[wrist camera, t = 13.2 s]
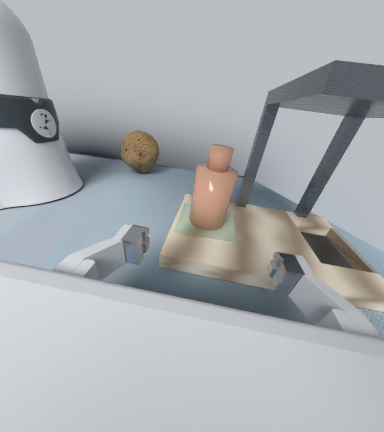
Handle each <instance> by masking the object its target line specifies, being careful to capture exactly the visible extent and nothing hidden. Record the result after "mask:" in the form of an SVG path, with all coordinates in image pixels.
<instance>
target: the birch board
mask: <svg viewBox="0 0 384 432" xmlns="http://www.w3.org/2000/svg"><path fill="white" fill-rule="evenodd" d="M192 196H193V195H190V194H186V195H185V197H184V199H183V201H182V204H181V206H180V208H179V211H178V213H177V215H176V217H175V220H174V222H173V224H172V227H171V229H170V231H169V233H168V236H167V238H166V240H165V243H164V245H163V247H162V250H161V252H160V254H159V267H160V268H165V269H170V270H175V271H180V272H185V273H190V274H195V275H200V276H205V277H210V278H215V279H220V280H225V281H230V282H235V283H240V284H245V285H250V286H255V287H260V288H265V289H270V290H273V287H272V284H271V281H272V278H271V277H270V276H269V274H268V264H269V262H270V261H271V260H273V259H274V258H273V255H274V253H275V252H276V251H277V252H282V253H288V254H295V255H301V256H303V257H304V258H305V260H306V262H307V264H308V265H309V267H310V269H311V270H312V272H313V274H314V275H315V277H317V278H319V279H320V280H322V281H323V282H324V283H326V284H327V285H328V286H329V287H331V288H332V289H333V290H335V291H336V292H337V293H338V294H340V295H341V296H342V297H344V298H345V299H346V300H347V301H349V302H350V303H351V304H352V305H354V306H355V307H360V308H365V309H370V310H375V311H380V312H384V278H383V277H382V276H381V275H380V274H379V273H378V272H377V271H376V270H375V269H374V268H373V267H372V266H371V265H370V264H369V263H368V262H367V261H366V260H365V259H364V258H363V257H362V256H361V255H360V254H359V253H358V252H357V251H356V250H355V249H354V248H353V247H352V246H351V245H350V244H349V243H348V242H347V241H346V240H345V239H344V238H343V237H342V236H341V235H340V234H339V233H338V232H337V231H336V230H335V229H334V228H333V227H332V226H331V225H330V224H329V223H328V222H327V221H326V220H325V219H324V218H323V217H320V216H314V215H308V216H307V218H303V217H297V215H296V214H295V213H294V212H290V211H284V210H278V209H272V208H267V207H261V206H255V205H249V204H246V207H239V206H237V204H236V202H231V201H230V203H229V207H228V210H227V214H226V217H225V221H224V224H223V226H222V227H221V228H220V229H218V230H214V231H208V230H202V229H200V228H197V227H196V226H194V225H193V224H192V223H191V222H190V219H189V216H190V210H191V203H192Z"/></svg>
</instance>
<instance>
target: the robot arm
mask: <svg viewBox="0 0 384 432" xmlns="http://www.w3.org/2000/svg"><path fill="white" fill-rule="evenodd" d="M47 98H48V95H47V92H46V88H45V85H44V81H43V78H42V74H41V71H40V67H39V64H38V60H37V57H36V53H35V50H34V47H33V43H32V40H31V37H30V35H29V33H28V32H27V30H26V28H25V27H24V25H23V24H22V22H21V21H20V20H19V18H18V17H17V16H16V15H15V14H14V13H13V12H12V11H11V10H10V9H9V8H8V7H7V6H6V5H5V4H4V3H3V2H2V1H1V0H0V209H3V208H8V207H16V206H26V205H34V204H40V203H45V202H49V201H53V200H57V199H60V198H63V197H66V196H68V195H70V194H72V193H74V192H76V191H78V190H79V189H80V188H81V187H82V185H83V182H82V180H81V178H80V177H79V175H78V172H77V170H76V169H75V167H74V165H73V163H72V161H71V158H70V156H69V153H68V151H67V148H66V146H65V144H64V141H63V139H62V137H61V135H60V133H59V121H58V118H57V113H56V109H55V108H54V105H53V101H52V100H50V99H47ZM148 234H149V228H146V227H142V226H137V225H131V224H124V225H123V227H122V228H121V229H120V230H119V231H118V232H117V233H116V235H115V236H114V237H113V238H109V239H106V240H104V241H101V242H99V243H96V244H94V245H92V246H89V247H87V248H84V249H82V250H79V251H77V252H74V253H72V254H69V255H68V256H67V257H66V258H65V259H64V260H63V261H62V262H61V263H59V264H58V265H57V266H56V267H55V268H54V269H53V270H47V269H42V268H37V267H33V266H28V265H23V264H18V263H13V262H8V261H4V260H0V432H384V340H383V339H382V337H381V336H380V335H379V333H378V332H377V330H376V329H375V328H374V326H373V325H372V323H371V322H370V321H369V319H368V318H367V317H366V315H365V314H364V313H363V312H361V311H360V310H359V309H358V308H356V307H355V306H354V305H352V304H351V303H350V302H349V301H347V300H346V299H345V298H344V297H342V296H341V295H340V294H338V293H337V292H336V291H335V290H333V289H332V288H331V287H329V286H328V285H327V284H326V283H324V282H323V281H322V280H320V279H319V278H317V277H315V275H314V274H313V272H312V270H311V269H310V267H309V265H308V264H307V262H306V260H305V258H304V257H303V256H301V255H295V254H288V253H282V252H277V251H276V252H275V253H274V255H273V258H274V259H273V260H271V261H270V262H269V264H268V274H269V276H270V277H271V278H272V281H271V284H272V287H273V291H274V292H278V293H282V294H287V295H288V296H289V297H290V298H291V299H292V301H293V302H294V303H295V304H296V306H297V307H298V308H299V309H300V310H301V312H302V313H303V314H304V315H305V316H306V318H307V319H308V320H309V321H310V322H311V324H312V325H311V324H306V323H301V322H297V321H292V320H287V319H282V318H277V317H273V316H268V315H263V314H258V313H253V312H249V311H244V310H239V309H234V308H229V307H225V306H220V305H215V304H210V303H205V302H201V301H196V300H191V299H186V298H181V297H177V296H172V295H167V294H162V293H157V292H153V291H148V290H143V289H138V288H133V287H129V286H124V285H119V284H114V283H109V282H105V281H101V280H102V279H104V278H105V277H107V276H108V275H110V274H111V273H113V272H114V271H116V270H117V269H118V268H120V267H121V266H123V265H124V264H126V263H131V264H137V265H139V264H140V262H141V261H142V259H143V254H144V253H145V252H146V251H147V249H148V247H149V242H150V239H149V237H148Z"/></svg>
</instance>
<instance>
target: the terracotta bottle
mask: <svg viewBox="0 0 384 432" xmlns="http://www.w3.org/2000/svg"><path fill="white" fill-rule="evenodd" d="M232 154H233V148H231V147H228V146H224V145H217V144H213V145H211V147H210V152H209V158H208V163H200V164H198V165H197V169H196V176H195V183H194V189H193V196H192V203H191V210H190V216H189V219H190V222H191V223H192V224H193V225H194V226H196V227H197V228H200V229H202V230H208V231H214V230H218V229H220V228H221V227H222V226H223V224H224V221H225V217H226V214H227V210H228V207H229V203H230V200H231V196H232V193H233V190H234V186H235V183H236V179H237V176H238V172H237V170H235V169H233V168H231V167H229V166H230V162H231V158H232Z"/></svg>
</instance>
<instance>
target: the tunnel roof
mask: <svg viewBox="0 0 384 432" xmlns="http://www.w3.org/2000/svg"><path fill="white" fill-rule="evenodd" d="M279 107H281V108H290V109H297V110H304V111H312V112H320V113H327V114H335V115H342V116H345V117H344V119H343V120H342V122H341V124H340V126H339V128H338V130H337V132H336V134H335V136H334V138H333V139H332V141H331V143H330V145H329V147H328V149H327V151H326V153H325V155H324V157H323V159H322V160H321V162H320V164H319V166H318V168H317V170H316V172H315V174H314V176H313V178H312V179H311V181H310V183H309V185H308V187H307V189H306V191H305V193H304V195H303V197H302V199H301V200H300V203H299V204H298V206H297V208H296V210H295V212H294V213H295V214H296V215H297V217H303V218H307V216H308V214H309V213H310V211H311V209H312V208H313V206H314V204H315V202H316V201H317V199H318V197H319V196H320V194H321V192H322V190H323V189H324V187H325V185H326V184H327V182H328V180H329V179H330V177H331V175H332V173H333V172H334V170H335V168H336V166H337V165H338V163H339V161H340V160H341V158H342V156H343V155H344V153H345V151H346V149H347V148H348V146H349V144H350V143H351V141H352V139H353V138H354V136H355V134H356V132H357V131H358V129H359V127H360V126H361V124H362V122H363V120H364V119H365V118H384V66H382V65H373V64H364V63H355V62H346V61H337V60H335V61H333V62H331V63H329V64H327V65H325V66H322V67H320V68H318V69H316V70H314V71H312V72H310V73H307V74H306V75H303V76H301V77H299V78H297V79H295V80H292V81H290V82H288V83H286V84H284V85H282V86H280V87H278V88H276V89H274V90H271V91H269V93H268V96H267V99H266V102H265V106H264V109H263V113H262V116H261V119H260V123H259V127H258V130H257V133H256V137H255V140H254V143H253V147H252V150H251V154H250V157H249V160H248V164H247V167H246V171H245V174H244V177H243V181H242V184H241V188H240V191H239V195H238V198H237V201H236V204H237V206H239V207H246V204H247V201H248V198H249V195H250V192H251V189H252V186H253V183H254V180H255V177H256V174H257V171H258V168H259V165H260V162H261V159H262V156H263V153H264V150H265V147H266V144H267V141H268V138H269V135H270V132H271V129H272V126H273V123H274V120H275V117H276V114H277V111H278V108H279Z"/></svg>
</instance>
